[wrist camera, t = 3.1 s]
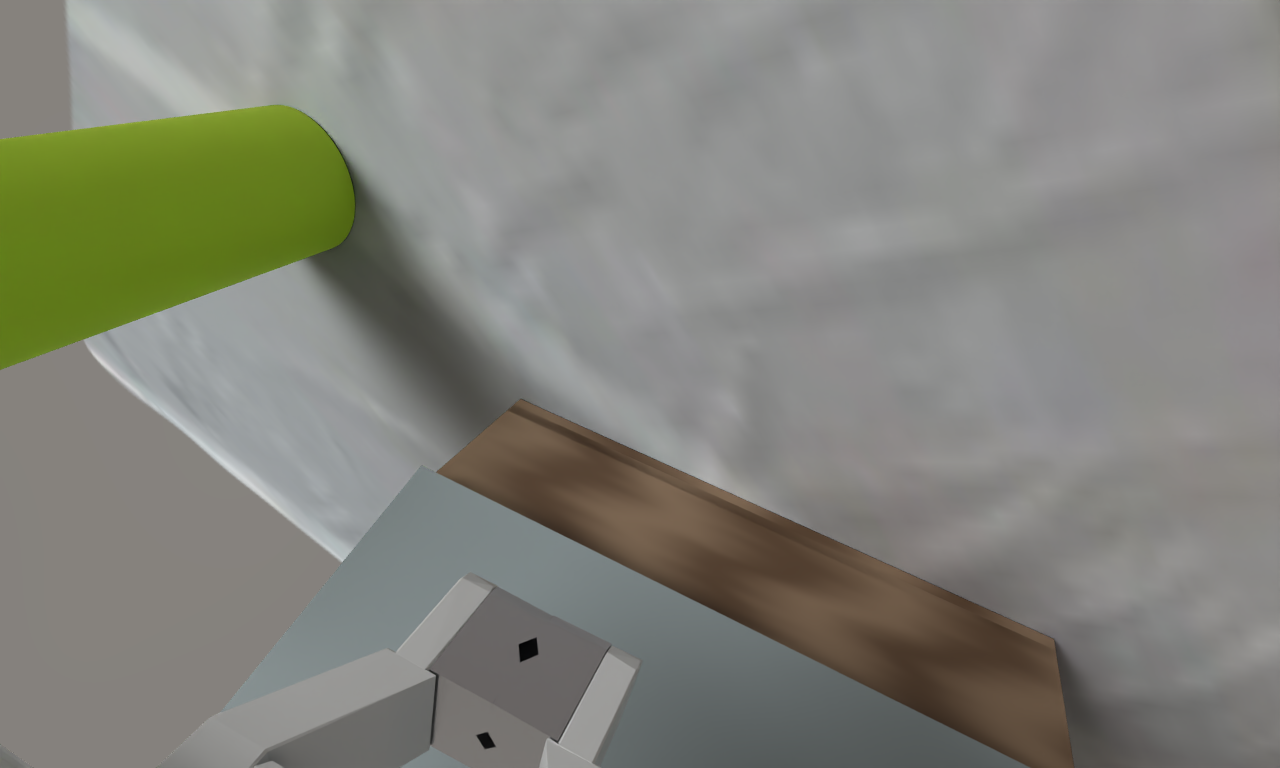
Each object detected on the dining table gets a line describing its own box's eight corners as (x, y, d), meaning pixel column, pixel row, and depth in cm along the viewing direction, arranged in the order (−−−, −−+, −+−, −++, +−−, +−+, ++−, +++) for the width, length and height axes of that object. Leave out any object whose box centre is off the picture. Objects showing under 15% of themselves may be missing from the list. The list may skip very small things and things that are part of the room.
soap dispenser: (388, 259, 27) (-427, 603, 11) (268, 242, 30) (-544, 505, 14) (357, 108, 24) (-795, 278, 8) (228, 102, 27) (-860, 225, 11)
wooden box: (1054, 639, 23) (1079, 803, 18) (907, 795, 30) (897, 946, 25) (520, 398, 28) (429, 478, 23) (496, 579, 35) (422, 669, 30)
